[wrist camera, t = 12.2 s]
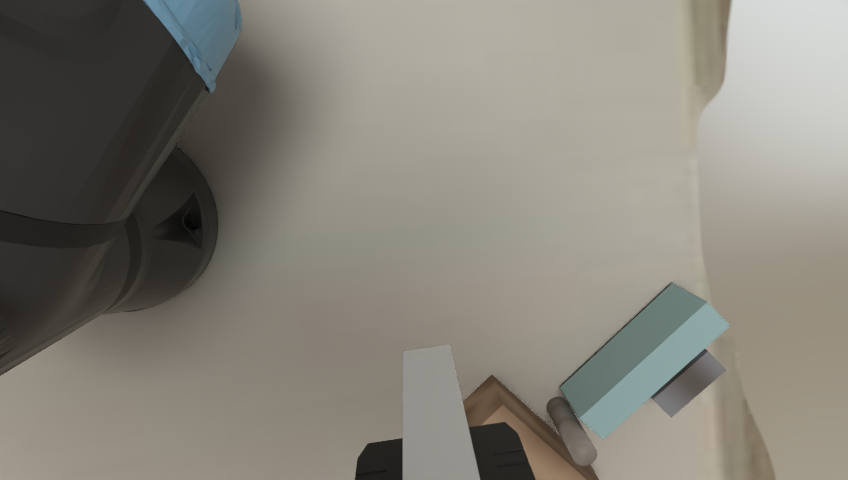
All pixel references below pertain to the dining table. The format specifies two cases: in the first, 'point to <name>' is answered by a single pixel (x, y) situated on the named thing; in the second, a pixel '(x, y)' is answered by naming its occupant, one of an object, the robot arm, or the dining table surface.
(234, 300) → the dining table surface
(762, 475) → the dining table surface
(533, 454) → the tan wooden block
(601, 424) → the teal block
